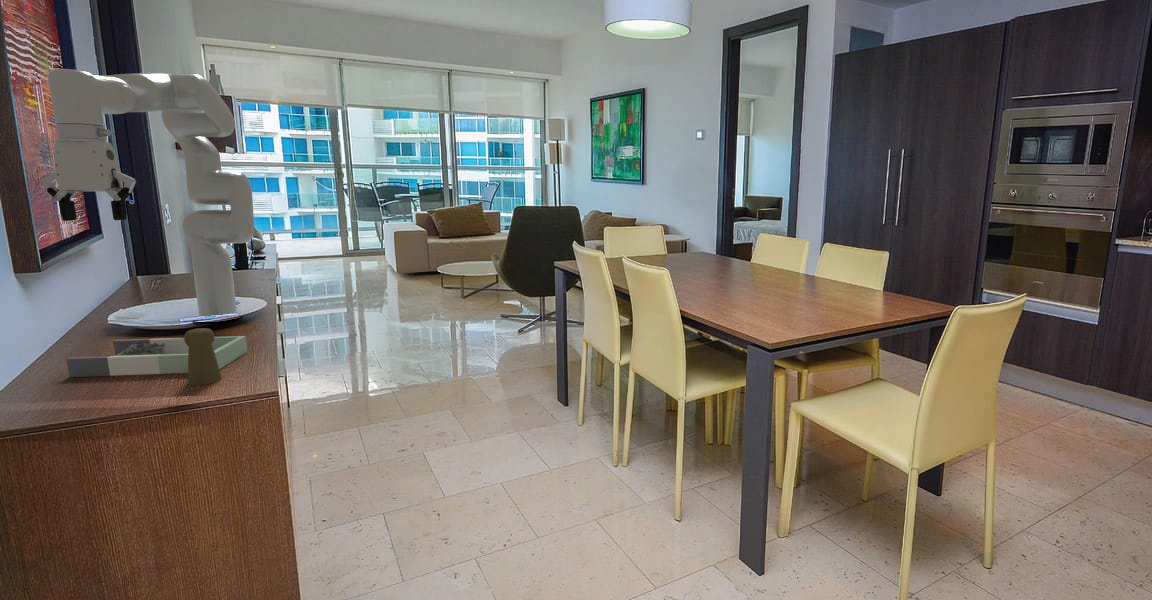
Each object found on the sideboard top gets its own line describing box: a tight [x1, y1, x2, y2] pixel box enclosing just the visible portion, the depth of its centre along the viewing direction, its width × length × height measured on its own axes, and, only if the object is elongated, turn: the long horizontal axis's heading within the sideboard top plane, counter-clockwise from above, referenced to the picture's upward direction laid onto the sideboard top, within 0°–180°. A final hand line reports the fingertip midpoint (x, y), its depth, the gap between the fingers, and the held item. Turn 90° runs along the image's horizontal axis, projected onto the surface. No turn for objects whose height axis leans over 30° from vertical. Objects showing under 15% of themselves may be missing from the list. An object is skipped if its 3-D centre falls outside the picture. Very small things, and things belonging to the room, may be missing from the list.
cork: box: [183, 327, 223, 386], centre depth 120 cm, size 6×6×11 cm
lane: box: [66, 335, 248, 378], centre depth 133 cm, size 16×29×4 cm, turn 96°
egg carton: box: [112, 342, 166, 356], centre depth 131 cm, size 11×8×4 cm
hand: (95, 220), depth 121 cm, fingers open, 9 cm apart
